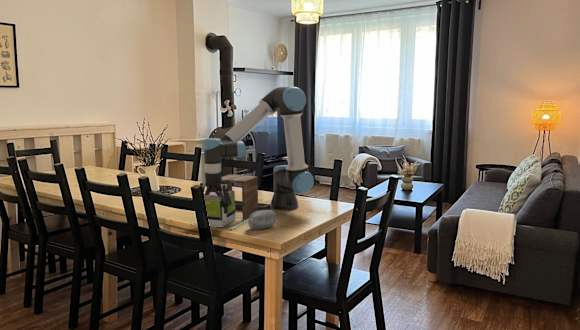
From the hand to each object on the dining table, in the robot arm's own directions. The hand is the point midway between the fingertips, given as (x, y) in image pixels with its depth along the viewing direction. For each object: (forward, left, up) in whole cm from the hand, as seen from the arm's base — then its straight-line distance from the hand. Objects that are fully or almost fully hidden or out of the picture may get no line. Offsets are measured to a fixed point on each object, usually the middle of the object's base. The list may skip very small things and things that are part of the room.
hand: (214, 219), depth 210 cm
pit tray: (0, -33, -3) cm, 34 cm away
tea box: (0, -5, -3) cm, 6 cm away
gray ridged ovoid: (-22, -6, -4) cm, 23 cm away
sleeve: (0, -21, -3) cm, 21 cm away
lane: (0, -5, -3) cm, 6 cm away
